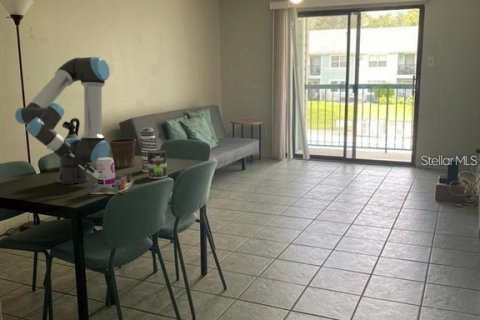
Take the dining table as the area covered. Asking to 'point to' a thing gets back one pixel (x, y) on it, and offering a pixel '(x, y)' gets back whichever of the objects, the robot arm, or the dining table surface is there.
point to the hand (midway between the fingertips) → (94, 173)
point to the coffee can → (157, 164)
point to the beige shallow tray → (121, 185)
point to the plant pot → (123, 152)
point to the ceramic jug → (72, 128)
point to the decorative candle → (147, 145)
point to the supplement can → (106, 172)
